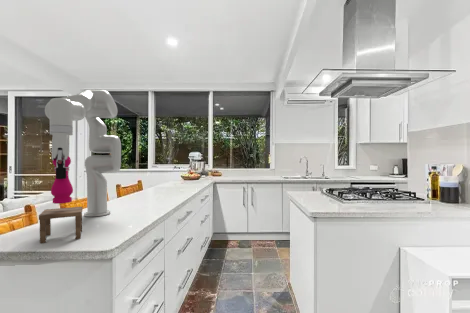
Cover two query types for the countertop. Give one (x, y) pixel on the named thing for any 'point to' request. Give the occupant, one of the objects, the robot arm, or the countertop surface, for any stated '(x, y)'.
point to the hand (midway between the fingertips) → (61, 177)
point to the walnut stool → (59, 213)
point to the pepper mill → (62, 186)
